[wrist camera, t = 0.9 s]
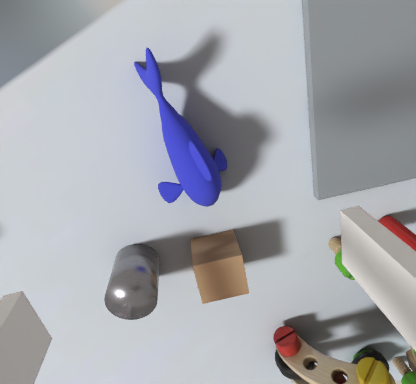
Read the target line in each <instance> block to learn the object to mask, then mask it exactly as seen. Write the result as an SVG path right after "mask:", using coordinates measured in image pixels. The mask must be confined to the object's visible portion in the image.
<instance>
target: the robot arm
mask: <svg viewBox="0 0 416 384" xmlns="http://www.w3.org/2000/svg"><path fill="white" fill-rule="evenodd" d="M340 214H341V244H342V264H343V265H344V266H345V268H346V269H347V270H348V271H349V272H350V274H351V275H352V276H353V277H354V278H355V280H356V281H357V282H358V283H359V284H360V286H361V287H362V288H363V289H364V290H365V291H366V293H367V294H368V295H369V296H370V297H371V299H372V300H373V301H374V302H375V303H376V305H377V306H378V307H379V308H380V309H381V311H382V312H383V313H384V314H385V315H386V317H387V318H388V319H389V320H390V321H391V323H392V324H393V325H394V326H395V327H396V329H397V330H398V331H399V332H400V333H401V335H402V336H403V337H404V338H405V339H406V341H407V342H408V343H409V344H410V345H411V347H412V348H413V349H414V350H415V351H416V251H415V250H413V249H412V248H411V247H410V246H408V245H407V244H406V243H405V242H403V241H402V240H401V239H400V238H398V237H397V236H396V235H395V234H393V233H392V232H391V231H389V230H388V229H387V228H386V227H384V226H383V225H382V224H381V223H379V222H378V221H377V220H376V219H374V218H373V217H372V216H371V215H369V214H368V213H367V212H366V211H364V210H363V209H362V208H361V207H359V206H356V207H352V208H348V209H344V210H340ZM51 340H52V337H51V336H50V334H49V333H48V331H47V329H46V328H45V326H44V325H43V323H42V321H41V320H40V318H39V317H38V315H37V313H36V312H35V310H34V309H33V307H32V305H31V304H30V302H29V301H28V299H27V297H26V296H25V294H24V293H23V291H21V292H17V293H13V294H9V295H5V296H3V297H2V299H1V300H0V384H34V382H35V380H36V377H37V375H38V372H39V370H40V367H41V365H42V362H43V360H44V357H45V355H46V352H47V350H48V347H49V345H50V342H51Z"/></svg>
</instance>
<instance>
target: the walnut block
mask: <svg viewBox="0 0 416 384" xmlns="http://www.w3.org/2000/svg"><path fill="white" fill-rule="evenodd" d="M190 243H191V254H192V266H193V270H194V273H195V277H196V281H197V284H198V288H199V292H200V295H201V299H202V303H203V304H204V303H208V302H213V301H217V300H222V299H226V298H230V297H235V296H239V295H243V294H248V293H249V290H248V285H247V279H246V274H245V268H244V263H243V258H242V253H241V251H240V248H239V245H238V242H237V239H236V236H235V233H234V230H229V231H224V232H220V233H215V234H211V235H207V236H202V237H198V238H193V239H190Z"/></svg>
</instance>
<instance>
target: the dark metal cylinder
mask: <svg viewBox="0 0 416 384" xmlns="http://www.w3.org/2000/svg"><path fill="white" fill-rule="evenodd" d="M159 266H160V260H159V257H158V255H157V253H156V252H155V251H154V250H153V249H152V248H150V247H148V246H146V245H141V244H133V245H129V246H126V247H124V248H123V249H121V250H120V251H119V253H118V254H117V256H116V259H115V262H114V266H113V269H112V273H111V276H110V280H109V284H108V287H107V291H106V294H105V305H106V307H107V309H108V310H109V311H110V312H111V313H112V314H113V315H115V316H117V317H119V318H122V319H128V320H134V319H140V318H143V317H145V316H147V315H149V314H150V313H151V312H152V311H153V310H154V309H155V307H156V305H157V297H158V281H159Z"/></svg>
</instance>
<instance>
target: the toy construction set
mask: <svg viewBox="0 0 416 384" xmlns="http://www.w3.org/2000/svg"><path fill="white" fill-rule="evenodd" d="M379 223H381V224H382V225H383V226H384V227H386V228H387V229H388V230H389V231H391V232H392V233H393V234H395V235H396V236H397V237H398V238H400V239H401V240H402V241H403V242H405V243H406V244H407V245H408V246H410V247H411V248H412V249H413V250H415V251H416V235H415V234H414V233H413V232H411V231H410V230H409V229H408V228H406V227H405V226H404V225H402V224H401V223H400V222H398V221H397V220H396V219H394V218H393V217H391V216H385V217H383V218H381V219H380V220H379ZM328 244H329V246H330V248H331V249H332V250H333V251H334V253H335V254H336V257H335V264H336V266H337V267H338V268H339V270H340V271H341V272H342V274H343V275H344V276H345V277H348V278H349V279H351V280H355V278H354V277H353V276H352V275H351V274H350V272H349V271H348V270H347V269H346V268H345V266H344V265H343V264H342V244H341V240H340V239H339V238H338V237H336V238H332V239H331V240H330V241H329V243H328ZM274 342H275V344H276V348H277V349H276V352H275V361H276V364H277V366H278V368H279V369H280V371H281V373H282V374H283V375H284V376H286V377H287V378H290V379H291V381H292V382H293V383H294V384H395V381H394V379H393V377H392V375H391V374H390V373H389V364H388V362H387V360H386V359H385V358H384V357H383V355H382V354H381V353H379V352H377V351H370V350H361V353H356V354H355V356H354V358H353V361H352V363H348V362H343V361H340V360H337V359H334V358H331V357H328V356H326V355H324V354H322V353H321V352H319V351H317V350H316V349H314V348H313V347H311V346H310V345H308V344H307V343H306V342H305V341H304V340H303V339H301V338H300V337H299V336H298V335H297V334H296V332H295V331H294V329H293V328H291V327H288V326H283V327H280V328H278V329H277V330H276V331H275V333H274ZM410 346H411V345H410ZM406 355H407V359H408V363H409V367H410V368H411V369H412V370H413V371H412V372H411V370H410V369H409V367H407V365H406V364H405V362H404V361H403V360H402V358H401V357H396V358H394V359H393V363H394V365H395V366H396V367H397V369H398V370H399V372H400V373H401V374H402V376H403V378H402V384H416V351H415V350H414V349H413V348H412V347H411V349H410V350H409V351H407V352H406ZM315 362H316V363H318V365H317V366H316V365H315V364H314V363H315ZM343 374H344V375H345V376H347V377H348V379H347V380H346V379H345V377H344V376H343Z"/></svg>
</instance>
